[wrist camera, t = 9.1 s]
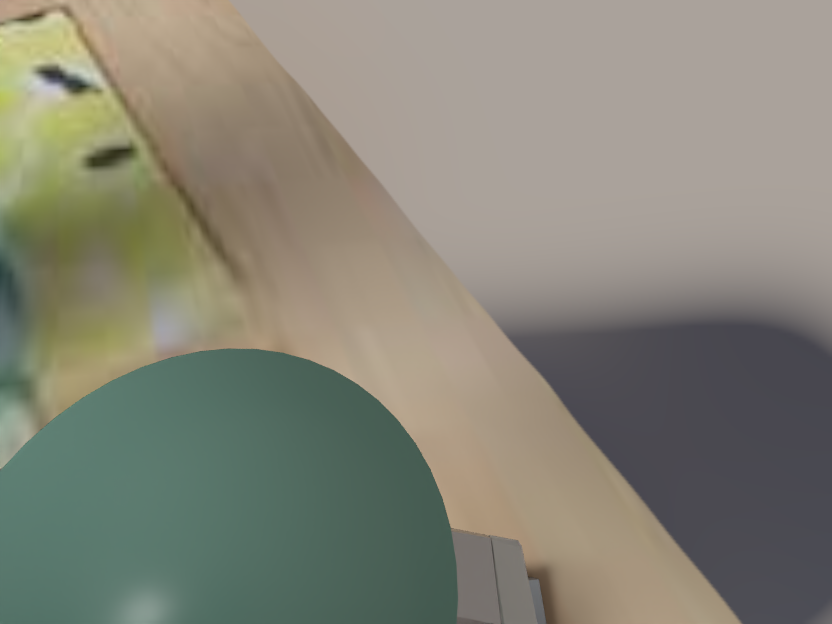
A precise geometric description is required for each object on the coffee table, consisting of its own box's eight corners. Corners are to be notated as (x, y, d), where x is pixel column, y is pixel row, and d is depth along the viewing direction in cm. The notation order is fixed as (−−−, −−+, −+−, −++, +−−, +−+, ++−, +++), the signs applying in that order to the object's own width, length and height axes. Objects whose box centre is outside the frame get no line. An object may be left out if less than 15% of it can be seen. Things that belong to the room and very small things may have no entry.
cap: (166, 712, 10) (-312, 1151, 3) (196, 442, 13) (-28, 326, 5) (427, 678, 11) (547, 968, 4) (409, 429, 13) (460, 311, 6)
